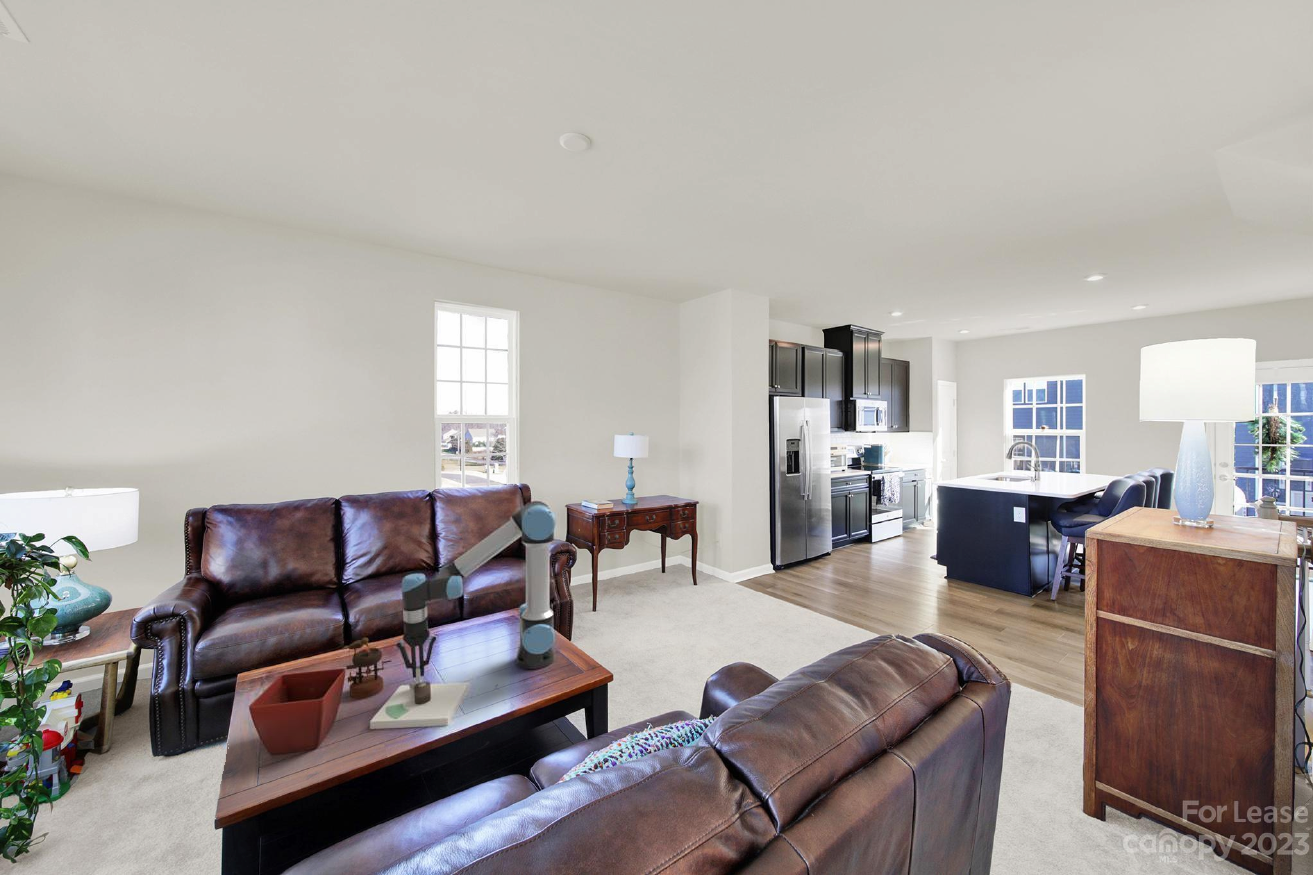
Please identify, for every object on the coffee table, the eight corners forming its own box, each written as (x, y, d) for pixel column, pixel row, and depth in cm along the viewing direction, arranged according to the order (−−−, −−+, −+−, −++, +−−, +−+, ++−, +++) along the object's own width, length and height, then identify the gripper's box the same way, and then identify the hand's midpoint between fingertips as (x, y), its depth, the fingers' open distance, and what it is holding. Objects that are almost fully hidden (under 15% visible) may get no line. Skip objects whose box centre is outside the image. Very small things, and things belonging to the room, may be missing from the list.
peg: (433, 700, 174) (432, 684, 174) (417, 705, 171) (416, 689, 171) (419, 685, 184) (418, 670, 184) (404, 690, 181) (403, 675, 181)
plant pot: (324, 755, 151) (322, 698, 150) (249, 765, 147) (246, 707, 146) (349, 717, 170) (346, 667, 169) (283, 726, 166) (280, 674, 165)
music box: (346, 704, 177) (343, 645, 178) (343, 693, 186) (340, 637, 187) (395, 690, 186) (392, 634, 187) (390, 680, 195) (387, 626, 196)
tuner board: (469, 688, 186) (469, 681, 186) (447, 725, 164) (447, 717, 164) (400, 691, 185) (400, 684, 185) (370, 729, 163) (369, 720, 163)
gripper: (436, 612, 187) (439, 676, 188) (396, 618, 182) (399, 684, 183) (435, 620, 180) (438, 686, 181) (393, 626, 175) (397, 694, 176)
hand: (419, 685), depth 182 cm, fingers closed
